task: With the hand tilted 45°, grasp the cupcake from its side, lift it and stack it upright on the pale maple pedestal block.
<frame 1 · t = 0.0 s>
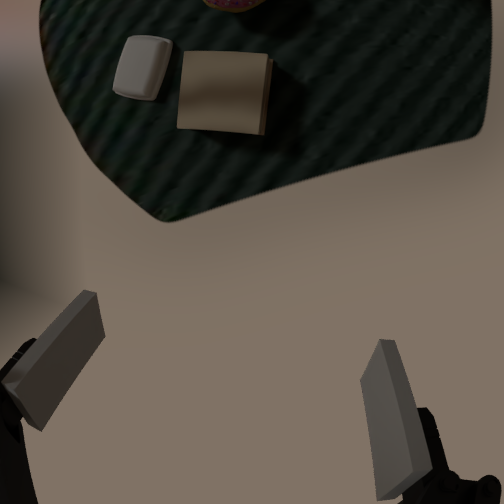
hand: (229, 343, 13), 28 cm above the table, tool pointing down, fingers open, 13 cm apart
pedestal: (229, 93, 34), on the table
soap: (145, 67, 33), on the table
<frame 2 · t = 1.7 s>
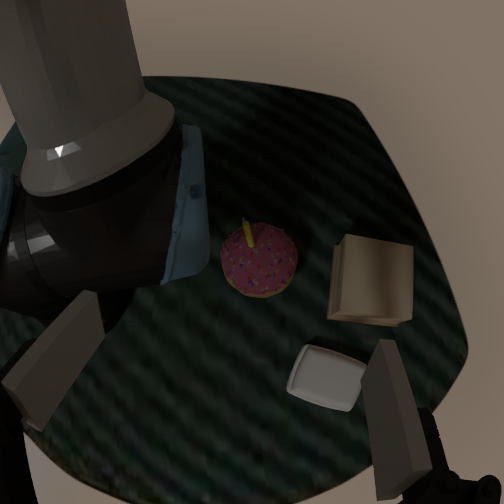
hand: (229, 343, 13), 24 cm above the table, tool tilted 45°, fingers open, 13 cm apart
cupcake: (258, 270, 39), on the table
pedestal: (365, 286, 38), on the table
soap: (326, 378, 35), on the table
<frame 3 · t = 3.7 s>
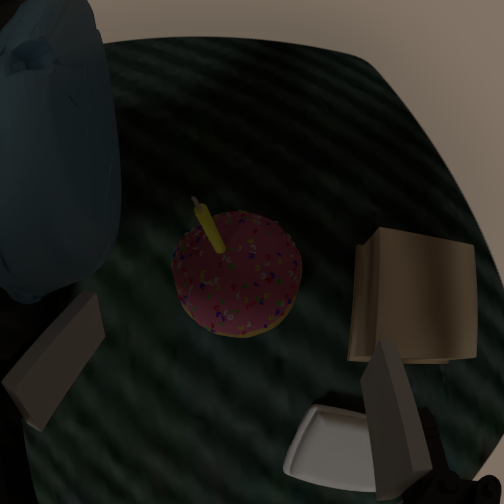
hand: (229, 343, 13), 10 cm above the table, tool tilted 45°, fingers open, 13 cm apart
cupcake: (240, 287, 25), on the table
pedestal: (403, 307, 24), on the table
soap: (343, 448, 20), on the table
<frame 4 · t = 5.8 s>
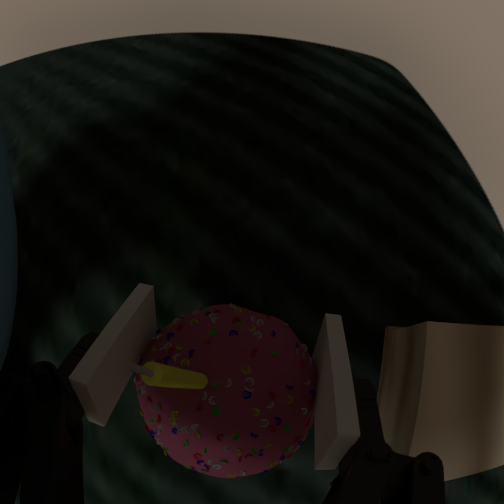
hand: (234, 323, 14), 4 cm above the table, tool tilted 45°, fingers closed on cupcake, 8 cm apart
cupcake: (233, 385, 17), on the table, touching gripper
pedestal: (436, 398, 16), on the table
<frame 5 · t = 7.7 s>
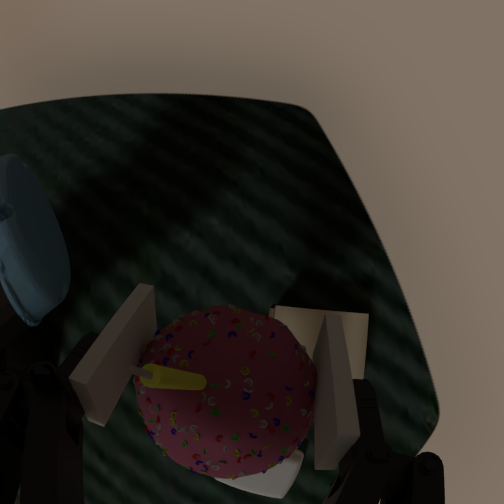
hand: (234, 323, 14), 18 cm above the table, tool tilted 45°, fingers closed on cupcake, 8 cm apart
cupcake: (232, 385, 17), point 14 cm above the table, touching gripper
pedestal: (309, 357, 31), on the table
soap: (257, 463, 28), on the table
when the fingers open (11 cm above the table, at t = 9.9 s): cupcake drops 1 cm, resting on pedestal.
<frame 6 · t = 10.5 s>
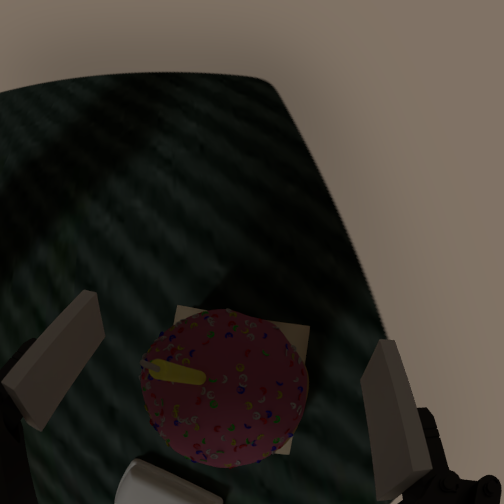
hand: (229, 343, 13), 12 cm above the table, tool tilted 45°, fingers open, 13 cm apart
cupcake: (230, 383, 19), point 5 cm above the table, touching pedestal
pedestal: (236, 378, 23), on the table
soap: (168, 501, 20), on the table
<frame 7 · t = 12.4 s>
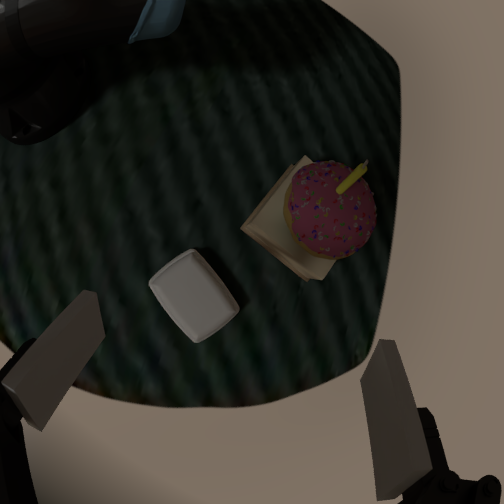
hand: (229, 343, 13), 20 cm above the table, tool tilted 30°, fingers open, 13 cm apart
cupcake: (312, 216, 30), point 5 cm above the table, touching pedestal
pedestal: (298, 222, 35), on the table
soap: (194, 295, 33), on the table
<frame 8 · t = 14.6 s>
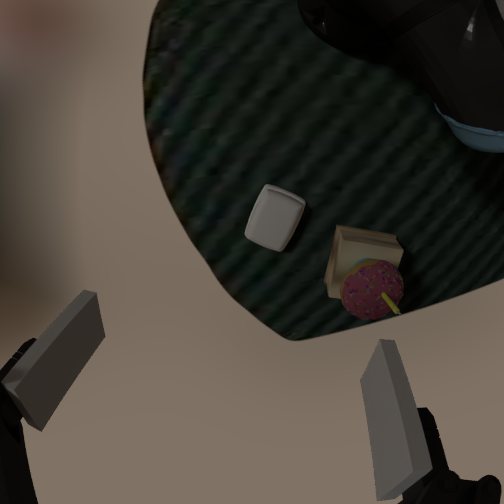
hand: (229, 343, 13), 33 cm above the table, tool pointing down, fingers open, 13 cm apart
cupcake: (365, 273, 42), point 5 cm above the table, touching pedestal
pedestal: (359, 258, 46), on the table
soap: (274, 216, 45), on the table
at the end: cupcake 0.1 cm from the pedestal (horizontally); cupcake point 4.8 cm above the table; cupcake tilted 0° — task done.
